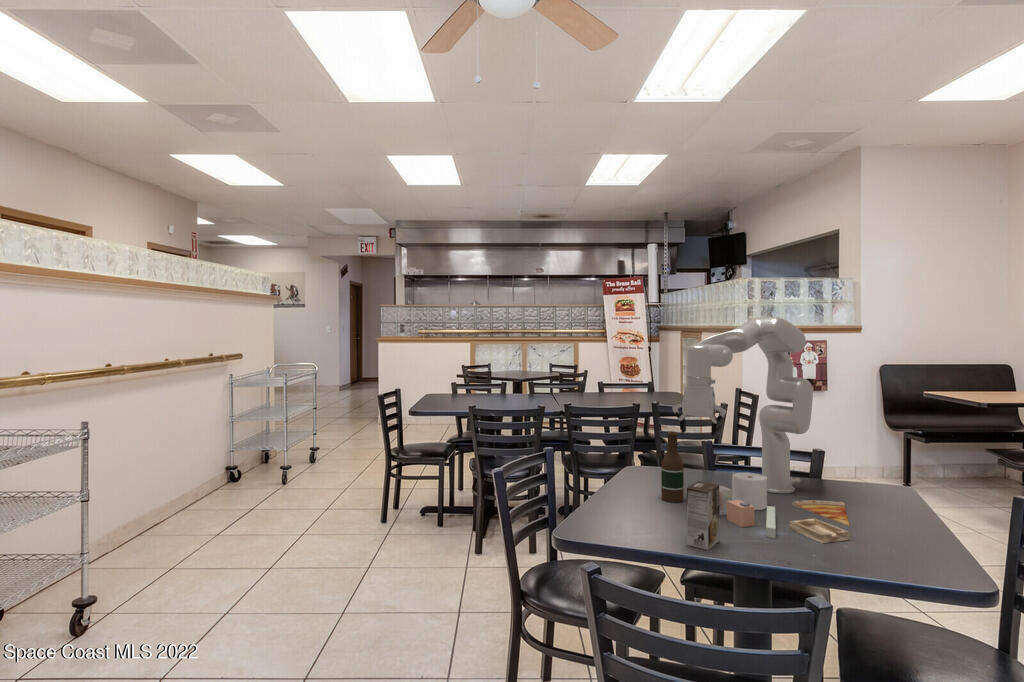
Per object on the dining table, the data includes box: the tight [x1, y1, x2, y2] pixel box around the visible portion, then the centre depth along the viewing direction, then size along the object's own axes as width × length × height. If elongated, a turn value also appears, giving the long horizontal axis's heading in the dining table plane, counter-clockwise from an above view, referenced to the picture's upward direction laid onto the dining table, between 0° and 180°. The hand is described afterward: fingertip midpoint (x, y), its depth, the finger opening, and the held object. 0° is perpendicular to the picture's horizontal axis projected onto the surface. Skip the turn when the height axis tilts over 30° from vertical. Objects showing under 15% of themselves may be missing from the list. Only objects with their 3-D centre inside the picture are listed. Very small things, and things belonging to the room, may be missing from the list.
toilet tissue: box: [731, 470, 768, 511], centre depth 189 cm, size 11×12×10 cm
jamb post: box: [719, 485, 732, 516], centre depth 181 cm, size 5×5×8 cm
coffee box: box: [686, 480, 721, 551], centre depth 155 cm, size 9×6×16 cm
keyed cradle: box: [789, 518, 850, 544], centre depth 161 cm, size 9×12×2 cm
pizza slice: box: [791, 499, 850, 527], centre depth 181 cm, size 16×22×2 cm
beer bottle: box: [660, 430, 685, 503], centre depth 196 cm, size 8×8×24 cm
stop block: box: [726, 500, 755, 528], centre depth 172 cm, size 4×7×7 cm, turn 16°
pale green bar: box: [765, 505, 777, 539], centre depth 169 cm, size 22×2×3 cm, turn 155°
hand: (698, 433), depth 184 cm, fingers open, 9 cm apart
